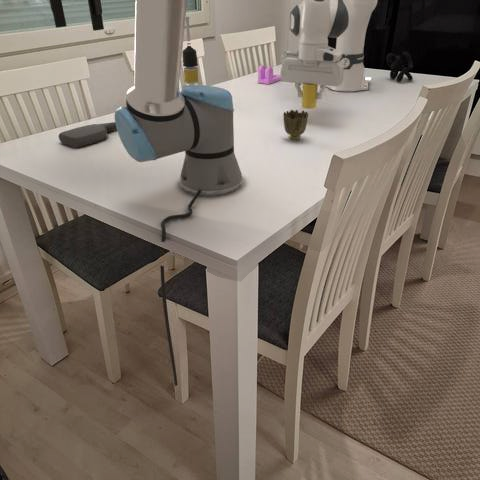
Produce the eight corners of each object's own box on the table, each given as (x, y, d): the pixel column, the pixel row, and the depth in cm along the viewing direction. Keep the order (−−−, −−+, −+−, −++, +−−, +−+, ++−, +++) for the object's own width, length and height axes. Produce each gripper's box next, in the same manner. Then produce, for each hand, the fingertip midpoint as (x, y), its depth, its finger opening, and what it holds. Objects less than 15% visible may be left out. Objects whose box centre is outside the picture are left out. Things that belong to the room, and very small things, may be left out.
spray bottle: (57, 141, 138) (121, 123, 154) (77, 149, 132) (142, 129, 148) (55, 132, 136) (120, 114, 152) (75, 139, 130) (141, 120, 146)
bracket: (268, 84, 198) (268, 67, 194) (258, 82, 201) (258, 66, 197) (284, 78, 207) (284, 62, 203) (274, 77, 209) (274, 61, 206)
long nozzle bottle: (202, 103, 173) (196, 17, 157) (188, 104, 171) (181, 18, 155) (197, 99, 177) (192, 15, 161) (184, 101, 176) (177, 16, 160)
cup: (278, 141, 135) (279, 114, 131) (287, 133, 140) (288, 108, 136) (301, 144, 132) (303, 118, 128) (310, 137, 137) (312, 111, 133)
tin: (314, 104, 149) (316, 81, 145) (317, 108, 145) (319, 84, 141) (300, 104, 149) (302, 81, 145) (302, 108, 145) (304, 85, 141)
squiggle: (400, 92, 202) (376, 71, 205) (417, 76, 202) (392, 56, 205) (405, 81, 191) (380, 59, 194) (423, 64, 191) (397, 42, 194)
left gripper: (112, -81, 95) (127, 29, 106) (38, -74, 106) (59, 24, 118) (84, -83, 89) (103, 33, 101) (9, -76, 101) (34, 27, 112)
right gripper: (277, 52, 140) (276, 97, 147) (342, 56, 133) (337, 103, 140) (284, 49, 145) (283, 92, 152) (347, 52, 137) (342, 98, 145)
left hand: (79, 28), depth 109 cm, fingers open, 13 cm apart
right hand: (309, 97), depth 146 cm, fingers closed on tin, 5 cm apart
